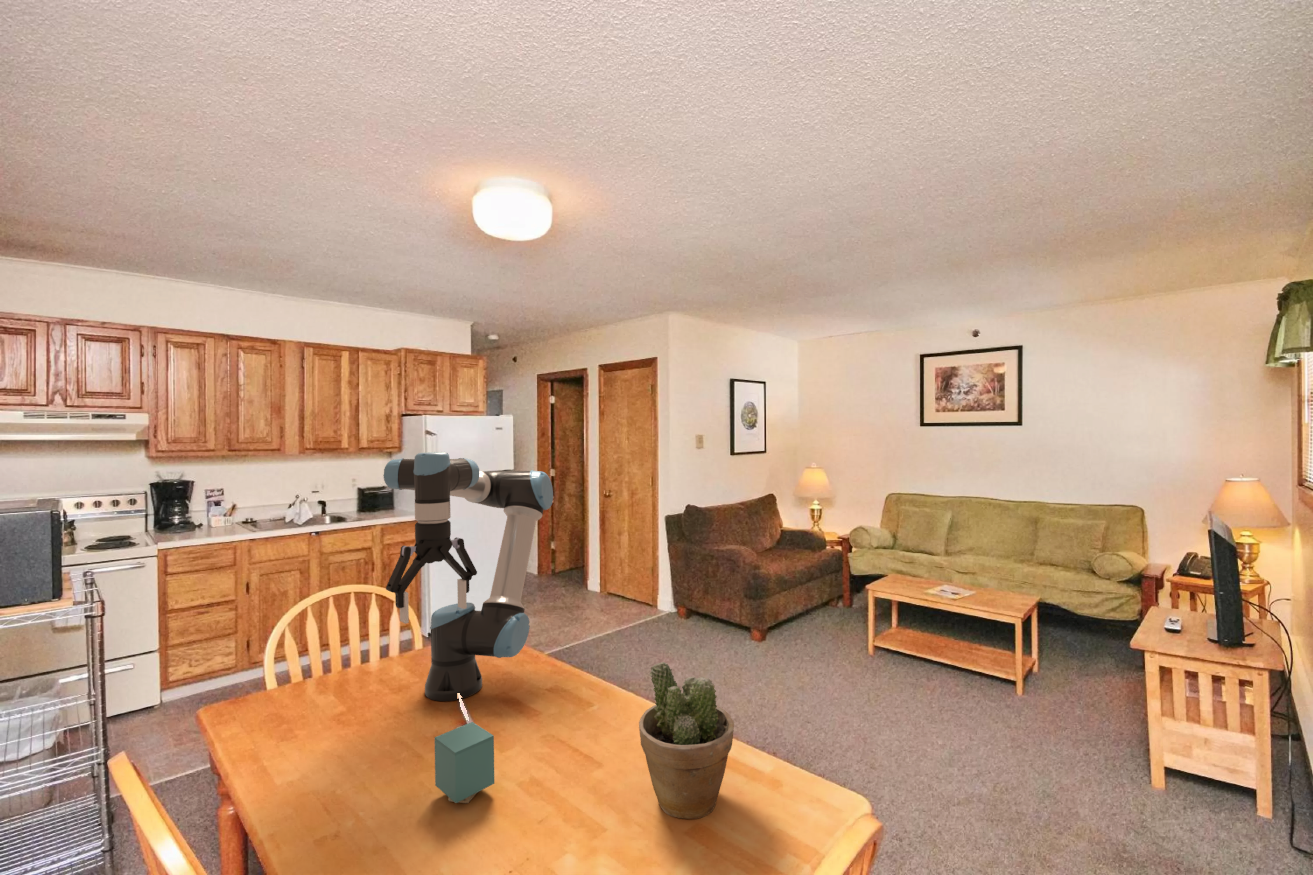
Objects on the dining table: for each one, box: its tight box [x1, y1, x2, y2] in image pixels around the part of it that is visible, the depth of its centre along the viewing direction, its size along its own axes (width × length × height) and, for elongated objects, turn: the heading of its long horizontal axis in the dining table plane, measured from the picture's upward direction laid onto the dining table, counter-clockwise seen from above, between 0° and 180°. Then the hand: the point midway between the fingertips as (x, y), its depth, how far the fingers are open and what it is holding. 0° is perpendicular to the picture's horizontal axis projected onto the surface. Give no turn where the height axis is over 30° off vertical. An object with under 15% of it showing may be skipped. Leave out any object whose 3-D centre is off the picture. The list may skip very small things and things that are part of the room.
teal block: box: [434, 721, 495, 804], centre depth 115 cm, size 8×8×10 cm
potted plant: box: [638, 661, 735, 820], centre depth 113 cm, size 18×19×25 cm
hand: (434, 614), depth 132 cm, fingers open, 13 cm apart
